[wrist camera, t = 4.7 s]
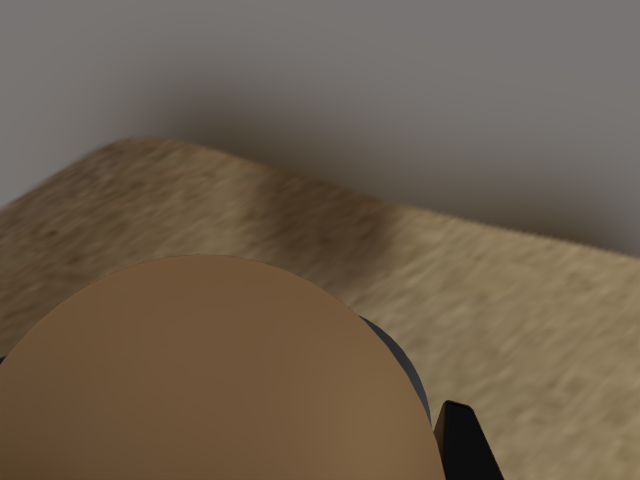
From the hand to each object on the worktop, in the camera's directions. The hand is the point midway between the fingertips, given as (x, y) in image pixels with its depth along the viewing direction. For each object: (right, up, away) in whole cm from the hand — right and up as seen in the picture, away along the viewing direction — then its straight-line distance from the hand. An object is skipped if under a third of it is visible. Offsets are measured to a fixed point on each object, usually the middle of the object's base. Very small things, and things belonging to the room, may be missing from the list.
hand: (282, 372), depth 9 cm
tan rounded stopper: (0, -3, +6) cm, 7 cm away
